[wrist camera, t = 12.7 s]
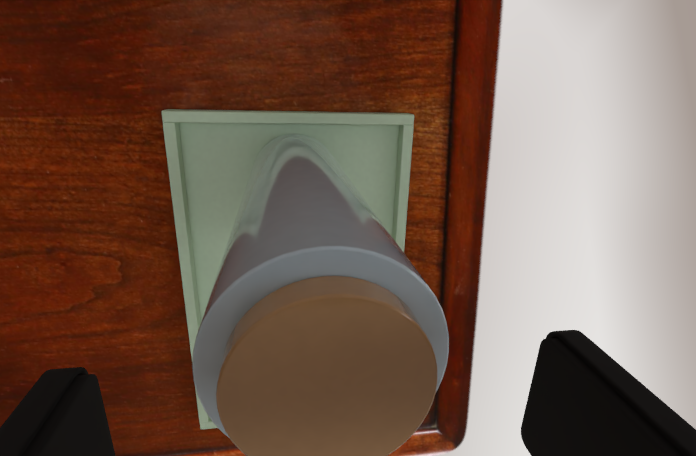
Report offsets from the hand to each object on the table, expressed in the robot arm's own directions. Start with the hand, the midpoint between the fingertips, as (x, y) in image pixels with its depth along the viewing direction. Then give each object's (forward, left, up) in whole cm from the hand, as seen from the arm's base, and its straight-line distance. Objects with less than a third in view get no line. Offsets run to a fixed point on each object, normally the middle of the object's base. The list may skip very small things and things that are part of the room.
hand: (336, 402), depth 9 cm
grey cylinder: (0, 0, -25) cm, 25 cm away
